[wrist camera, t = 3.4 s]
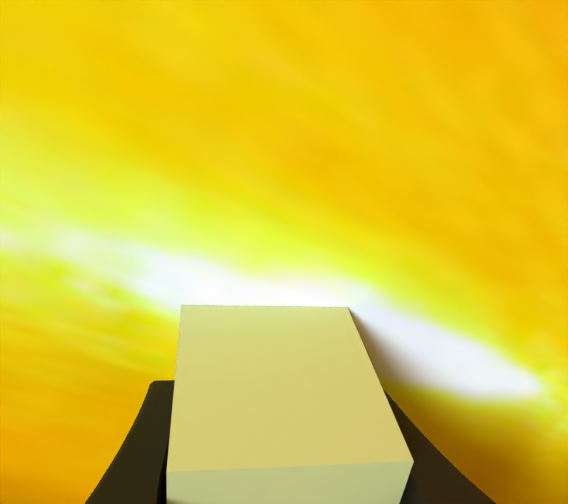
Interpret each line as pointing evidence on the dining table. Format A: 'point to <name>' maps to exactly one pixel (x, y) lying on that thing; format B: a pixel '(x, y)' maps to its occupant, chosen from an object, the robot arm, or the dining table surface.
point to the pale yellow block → (280, 411)
